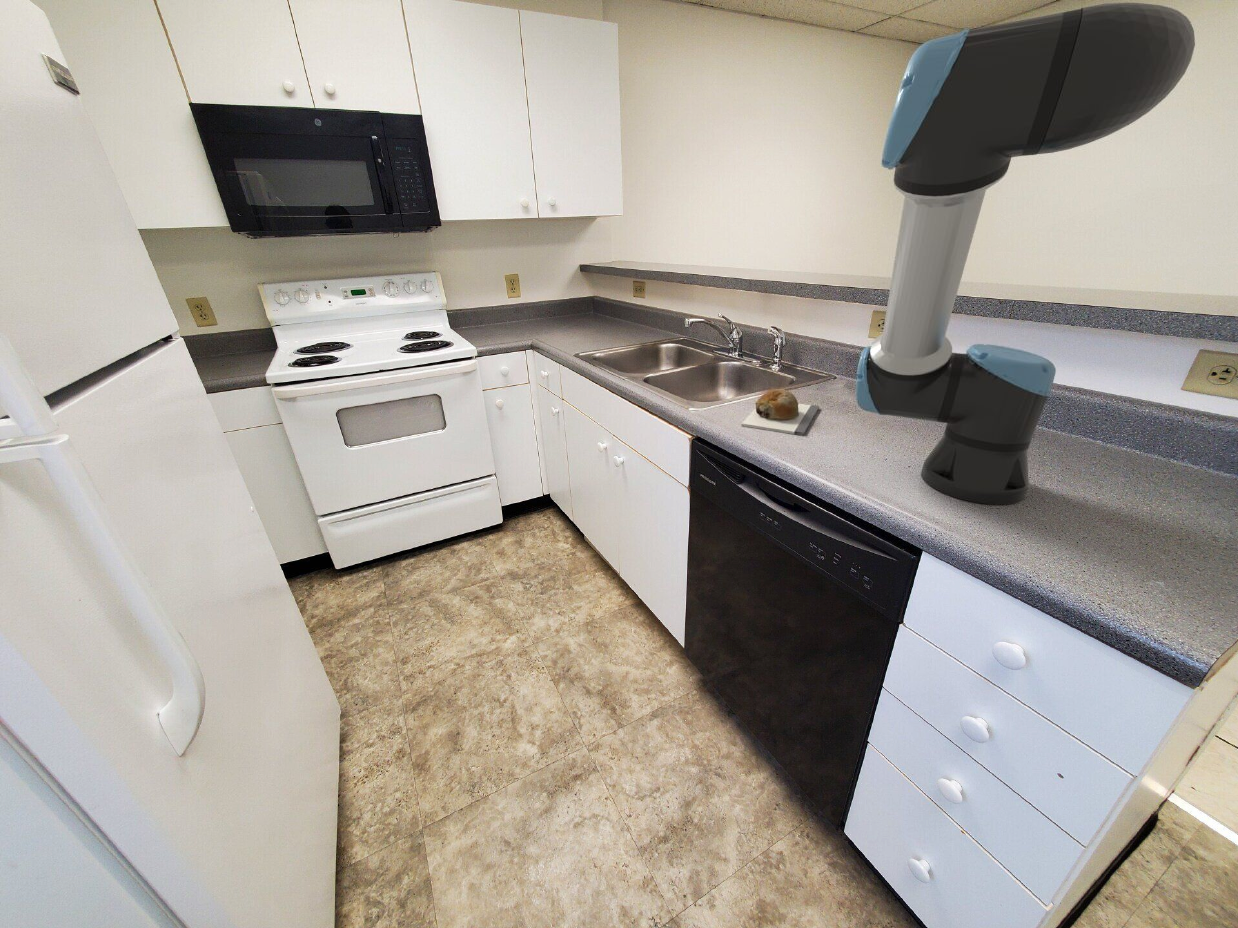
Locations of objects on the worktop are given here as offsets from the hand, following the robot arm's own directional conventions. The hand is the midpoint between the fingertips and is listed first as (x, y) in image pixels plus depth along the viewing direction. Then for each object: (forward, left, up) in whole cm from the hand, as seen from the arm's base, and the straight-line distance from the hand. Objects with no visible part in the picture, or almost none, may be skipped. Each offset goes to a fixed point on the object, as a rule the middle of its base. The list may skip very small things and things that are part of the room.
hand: (934, 276), depth 97 cm
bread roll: (-8, +26, -31) cm, 42 cm away
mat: (-8, +25, -32) cm, 41 cm away
